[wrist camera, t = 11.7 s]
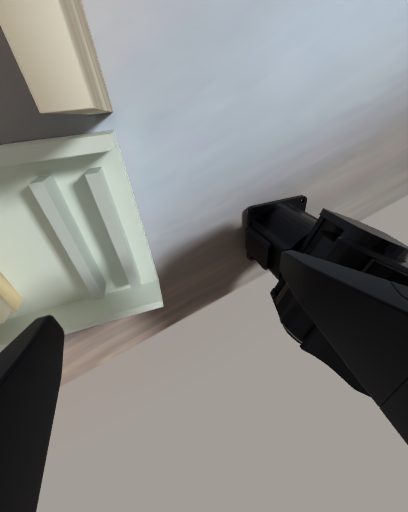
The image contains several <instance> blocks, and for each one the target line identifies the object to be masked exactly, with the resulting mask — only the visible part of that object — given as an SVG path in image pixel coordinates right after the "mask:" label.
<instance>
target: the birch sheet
mask: <svg viewBox="0 0 408 512" xmlns="http://www.w3.org/2000/svg"><path fill="white" fill-rule="evenodd" d="M0 26H1V28H2V30H3V32H4V35H5V37H6V39H7V41H8V43H9V46H10V48H11V50H12V52H13V54H14V57H15V59H16V61H17V63H18V65H19V68H20V70H21V72H22V74H23V77H24V79H25V81H26V83H27V85H28V88H29V90H30V92H31V94H32V96H33V99H34V101H35V103H36V105H37V107H38V110H39V112H40V113H48V114H88V115H92V114H101V113H109V112H113V110H112V106H111V103H110V99H109V96H108V92H107V89H106V85H105V82H104V78H103V75H102V71H101V68H100V64H99V61H98V57H97V54H96V50H95V47H94V43H93V40H92V36H91V33H90V29H89V26H88V23H87V19H86V16H85V12H84V9H83V5H82V2H81V0H0Z"/></svg>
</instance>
